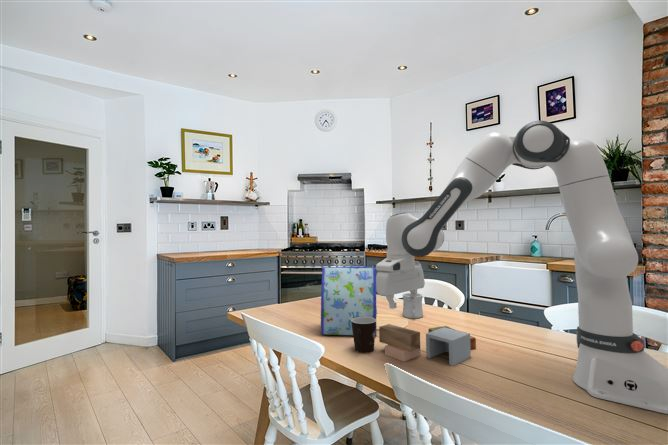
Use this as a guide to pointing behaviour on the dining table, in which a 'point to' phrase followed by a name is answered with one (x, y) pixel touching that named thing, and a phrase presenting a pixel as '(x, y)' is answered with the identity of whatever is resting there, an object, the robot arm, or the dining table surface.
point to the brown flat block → (472, 339)
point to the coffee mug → (364, 334)
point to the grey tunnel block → (448, 344)
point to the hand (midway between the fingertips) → (402, 305)
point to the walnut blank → (399, 337)
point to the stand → (401, 353)
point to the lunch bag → (346, 297)
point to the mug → (412, 306)
